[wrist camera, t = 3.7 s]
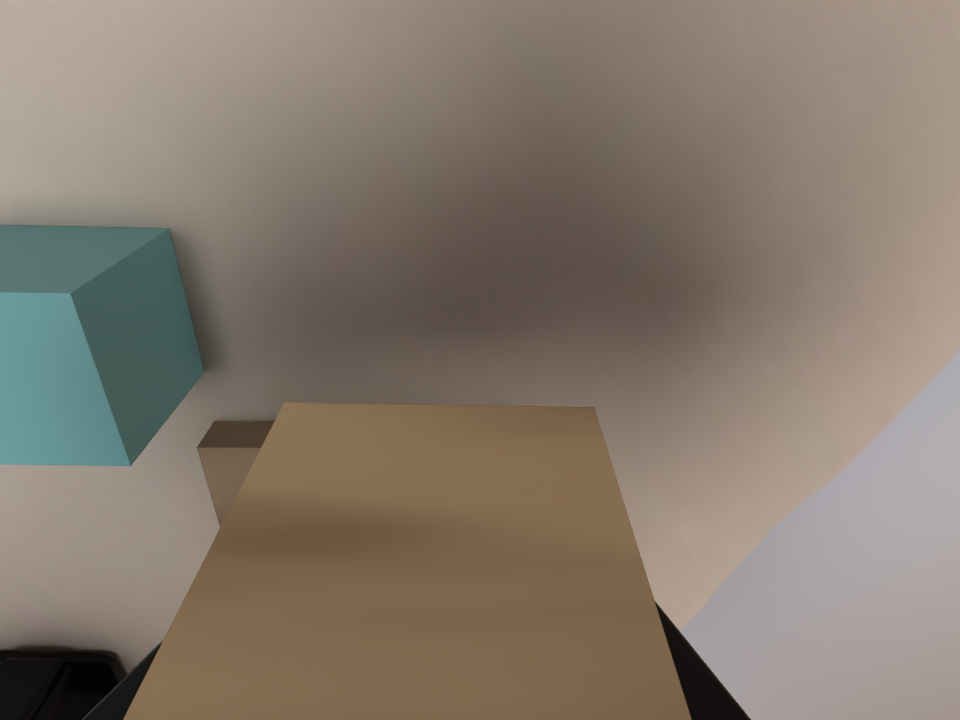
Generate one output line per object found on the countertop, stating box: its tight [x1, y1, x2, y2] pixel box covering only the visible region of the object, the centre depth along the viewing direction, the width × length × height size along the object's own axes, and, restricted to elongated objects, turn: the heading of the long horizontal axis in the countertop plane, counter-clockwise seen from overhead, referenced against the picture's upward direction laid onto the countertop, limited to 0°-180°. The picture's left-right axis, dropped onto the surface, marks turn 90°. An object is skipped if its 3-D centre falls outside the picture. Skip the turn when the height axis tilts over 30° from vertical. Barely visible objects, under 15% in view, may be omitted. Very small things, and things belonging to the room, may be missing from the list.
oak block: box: [123, 402, 692, 720], centre depth 8 cm, size 5×5×5 cm
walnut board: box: [197, 421, 274, 528], centre depth 23 cm, size 11×11×2 cm
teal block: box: [0, 225, 204, 466], centre depth 17 cm, size 5×5×5 cm
